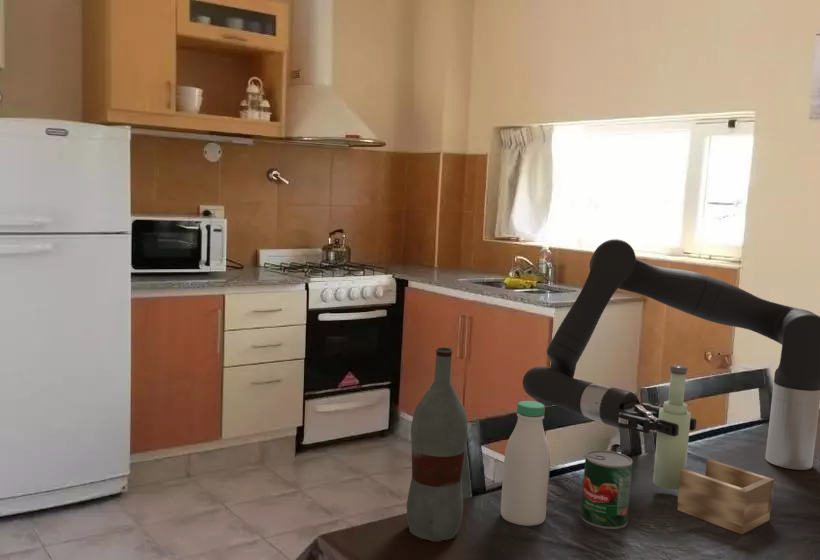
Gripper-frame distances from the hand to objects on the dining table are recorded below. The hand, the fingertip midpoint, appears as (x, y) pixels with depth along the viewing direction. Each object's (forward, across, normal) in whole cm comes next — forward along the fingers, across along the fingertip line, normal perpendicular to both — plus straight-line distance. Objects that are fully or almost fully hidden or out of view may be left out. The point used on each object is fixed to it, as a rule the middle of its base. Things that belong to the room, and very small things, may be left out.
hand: (686, 427), depth 145 cm
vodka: (-16, -48, +13) cm, 52 cm away
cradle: (+9, 0, +14) cm, 16 cm away
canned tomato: (-3, -20, +14) cm, 24 cm away
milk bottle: (-11, -31, +14) cm, 36 cm away
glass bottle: (-3, 0, +12) cm, 12 cm away
